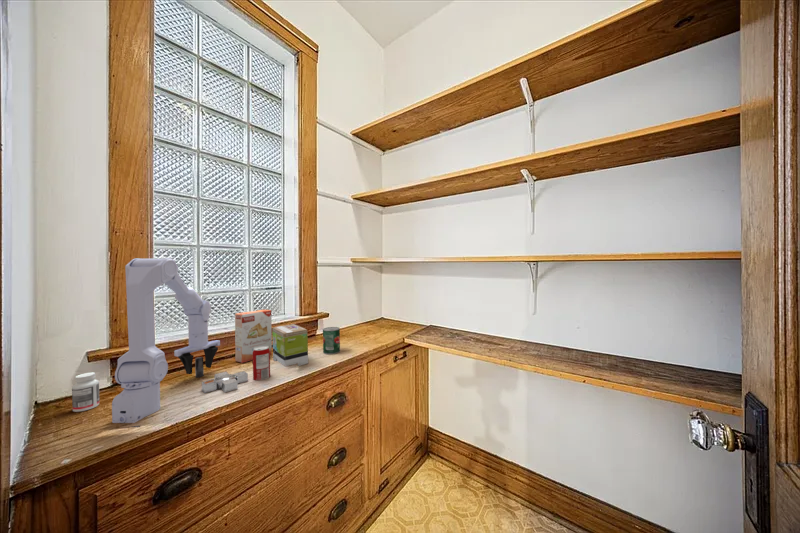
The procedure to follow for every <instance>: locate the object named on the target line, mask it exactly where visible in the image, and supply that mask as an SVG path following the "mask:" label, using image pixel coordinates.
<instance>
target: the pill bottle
mask: <svg viewBox="0 0 800 533" xmlns="http://www.w3.org/2000/svg"><path fill="white" fill-rule="evenodd" d="M96 375H97V374H96V372H95V371H94V372H93V371H92V372H85V373H81V374H79V375H75V378H74V381H75V383H74V384H73V385H72V386H71V398H72V399H71V401H72V402H71V403H72V404H71V405H72V406H71V407H72V412H74V413H75V412H76V413H79V412H80V413H81V412H85V411H89V410H92V409H94V408H96V407H98V406H99V405H100V401H101V400H100V380H98V379H96V378H97V377H96Z"/></svg>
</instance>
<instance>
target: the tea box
mask: <svg viewBox="0 0 800 533" xmlns="http://www.w3.org/2000/svg"><path fill="white" fill-rule="evenodd" d="M271 333H272V358H273V359H272V360H273V361H274V362H278V363H280V364H281V365H283V367H287V366H292V365H296V364H297V367H301V366H304V365H307V364H309V344H308V343H309V342H308V337H309V336H308V329H306V328H305V327H302V326H300V325H298V324H295V323H291V324H287V325H286V324H285V325H280V326H276V327H272V326H271Z"/></svg>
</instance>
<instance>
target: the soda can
mask: <svg viewBox="0 0 800 533" xmlns="http://www.w3.org/2000/svg"><path fill="white" fill-rule="evenodd" d="M270 377H271V355H270V350H269V347H268V346H260V347H256V348H254V350H253V360H252V379H253V380H254V381H262V380H266V379H269V378H270Z"/></svg>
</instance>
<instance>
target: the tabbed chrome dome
mask: <svg viewBox="0 0 800 533" xmlns="http://www.w3.org/2000/svg"><path fill="white" fill-rule="evenodd" d="M248 374H249V373H248V372H246V371H245V370H244V371H240V372H236V373H232V374H231V373H228V371H223V372H219V373H215V374H214V375H213V376H214V378H213V379H212V378H211V379H207V380H204V381H201V391H202V392H203V393H204V394H207V393H210V392H214V391H216V390H222V391H223V393H228V392H232V391H235V390H238V389H239V388H238V384H242V383H245V382H249V375H248Z"/></svg>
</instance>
